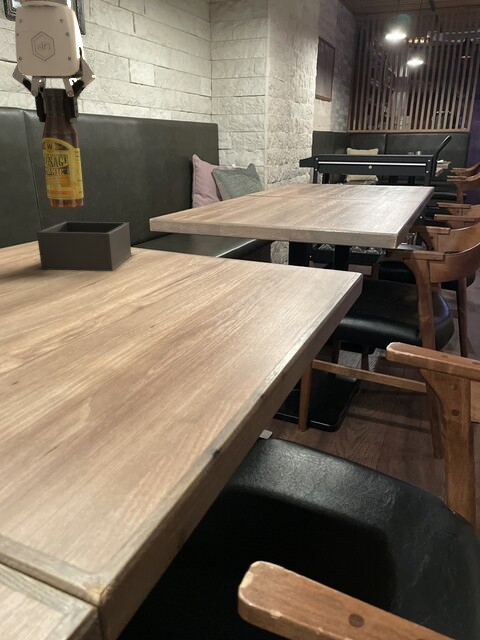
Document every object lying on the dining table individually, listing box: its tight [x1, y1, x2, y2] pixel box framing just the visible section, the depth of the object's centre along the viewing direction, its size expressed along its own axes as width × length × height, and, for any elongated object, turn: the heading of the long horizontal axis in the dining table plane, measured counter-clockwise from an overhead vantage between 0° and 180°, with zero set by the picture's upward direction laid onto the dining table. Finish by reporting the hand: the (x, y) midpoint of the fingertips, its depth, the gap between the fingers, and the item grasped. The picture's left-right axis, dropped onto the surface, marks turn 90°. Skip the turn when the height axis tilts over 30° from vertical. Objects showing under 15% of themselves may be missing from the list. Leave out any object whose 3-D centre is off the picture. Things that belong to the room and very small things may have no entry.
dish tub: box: [36, 220, 132, 272], centre depth 104 cm, size 15×14×8 cm
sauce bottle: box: [41, 87, 84, 209], centre depth 87 cm, size 6×6×20 cm
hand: (58, 121), depth 85 cm, fingers closed on sauce bottle, 4 cm apart
